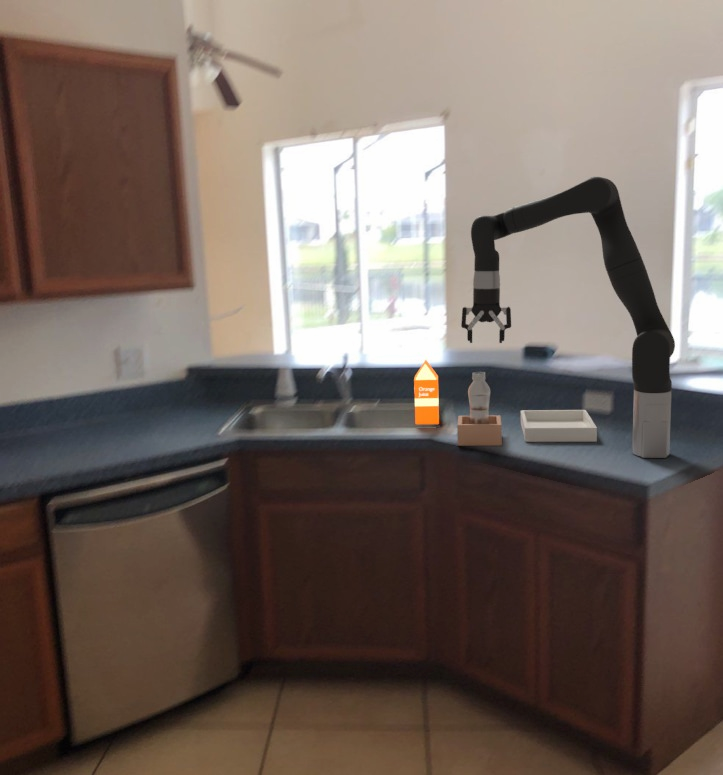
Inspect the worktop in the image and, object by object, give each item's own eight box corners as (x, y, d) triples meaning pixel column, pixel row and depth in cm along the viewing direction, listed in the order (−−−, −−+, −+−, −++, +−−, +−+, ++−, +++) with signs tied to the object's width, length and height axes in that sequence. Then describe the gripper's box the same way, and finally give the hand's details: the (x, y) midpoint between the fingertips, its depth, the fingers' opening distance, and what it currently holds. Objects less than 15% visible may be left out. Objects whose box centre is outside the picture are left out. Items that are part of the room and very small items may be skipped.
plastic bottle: (464, 439, 228) (462, 372, 224) (484, 436, 230) (483, 370, 226) (474, 443, 222) (473, 375, 218) (495, 441, 224) (494, 373, 221)
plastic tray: (596, 441, 219) (596, 427, 218) (525, 441, 222) (525, 428, 221) (585, 422, 242) (585, 409, 242) (520, 422, 245) (520, 410, 245)
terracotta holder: (501, 445, 219) (501, 424, 218) (457, 445, 221) (457, 425, 220) (500, 434, 231) (500, 415, 230) (458, 434, 233) (458, 415, 232)
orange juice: (439, 418, 257) (437, 358, 253) (439, 424, 248) (437, 362, 244) (415, 418, 258) (414, 359, 254) (414, 424, 249) (413, 363, 245)
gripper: (461, 287, 218) (461, 344, 221) (512, 287, 216) (511, 344, 219) (461, 286, 226) (461, 341, 229) (511, 285, 224) (510, 341, 227)
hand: (485, 342), depth 224 cm, fingers open, 8 cm apart
